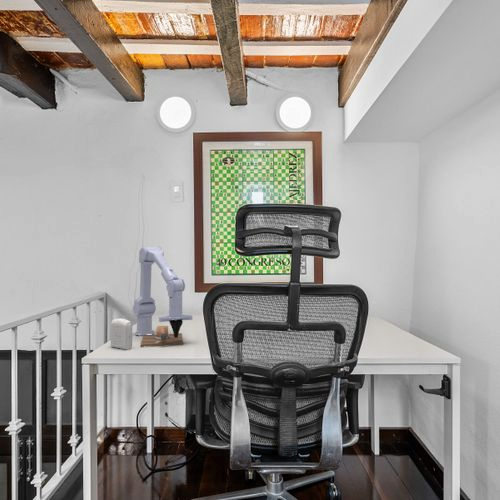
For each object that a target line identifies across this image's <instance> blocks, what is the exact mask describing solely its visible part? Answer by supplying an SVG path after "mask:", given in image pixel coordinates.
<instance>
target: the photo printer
mask: <svg viewBox="0 0 500 500" xmlns="http://www.w3.org/2000/svg"><path fill="white" fill-rule="evenodd" d="M110 347H112V348H117V349H121V350H131V349H132V347H133V323H132V322H131V321H130V320H128V319H125V318H115V319H112V320H111V323H110Z"/></svg>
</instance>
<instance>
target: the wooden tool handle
mask: <svg viewBox="0 0 500 500" xmlns="http://www.w3.org/2000/svg"><path fill="white" fill-rule="evenodd" d="M156 334H157V336H158V337H161V339H166V336H168V334H169V326H168V325H158V326H156Z"/></svg>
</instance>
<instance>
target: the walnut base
mask: <svg viewBox="0 0 500 500" xmlns="http://www.w3.org/2000/svg"><path fill="white" fill-rule="evenodd" d="M183 339H184V338H183V334H182V332H180V333H179V334H178V337H176V338H175V337H174V333H168V336H166V339H161V337H158V336H157V333H156V334H153V335H142V339H141V342H140V348H144V346H151V347H165V346H164V345H169V346H183V345H184V340H183Z"/></svg>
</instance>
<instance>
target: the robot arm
mask: <svg viewBox="0 0 500 500" xmlns="http://www.w3.org/2000/svg"><path fill="white" fill-rule="evenodd" d="M138 254H139V255H138V261H139V263H140V277H139V278H140V279H139V281H140V282H139V283H140V284H139V285H140V286H139V296H138V297H136V299H135V300H134V302H133V306H132V313H133V314H134V316H135V317H136V333H135V336H136V335H138V336H143V335H147V334H153V333H154V331H153V332H152V330H153V316H154V314H155V312H156V302H155V301H156V300H155V299H154V298H153V297H152V296H151V294H152V293H151V291H152V266H153V264H156V265H157V266H158V268H159V269H160V270H161V273H160V275H161V277H162V278H163V280H164V282H165V284H166V290H167V296H168V297H169V298H168V299H169V300H168V301H169V302H168V303H169V304H168V305H169V307H168V309H169V313H168V314H169V315H167V316H166V315H165V316H159V317H158V322H159V323H163V322H169V324H170V326H171V328H172V334H174V337H175V338H176V337H178V334H179V332H180V330H181V327H182V326H183V322H184V321H193V315H192V314H183V292H184V291H185V288H186V283H185V281H184V279H182V278H180V277H178V275H177V274H176V272H175V271H174V269H173V268H172V267H170V266H169V265H168V263H167V261H166V258H165V257H164V256H165V255H164V250H163V248H162V247H161V246H142V247H141V248H140V250H139V252H138ZM153 335H154V334H153Z"/></svg>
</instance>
